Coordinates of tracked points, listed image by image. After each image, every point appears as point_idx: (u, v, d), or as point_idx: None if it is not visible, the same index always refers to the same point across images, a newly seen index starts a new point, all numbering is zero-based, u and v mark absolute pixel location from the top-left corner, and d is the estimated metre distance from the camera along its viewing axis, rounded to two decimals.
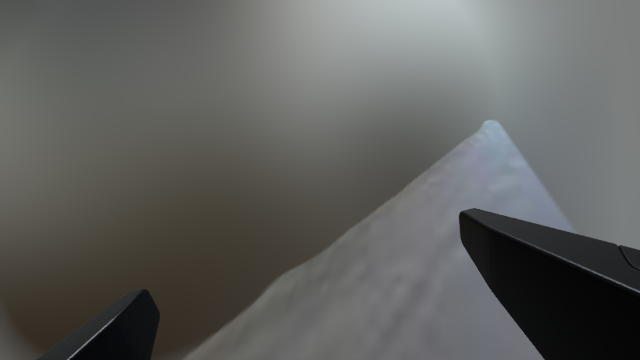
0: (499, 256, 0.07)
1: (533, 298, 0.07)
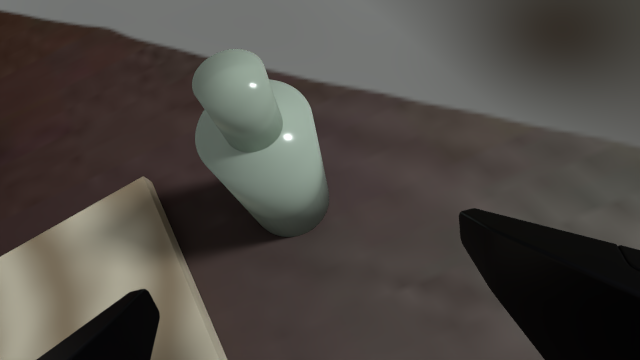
0: (499, 256, 0.07)
1: (533, 298, 0.07)
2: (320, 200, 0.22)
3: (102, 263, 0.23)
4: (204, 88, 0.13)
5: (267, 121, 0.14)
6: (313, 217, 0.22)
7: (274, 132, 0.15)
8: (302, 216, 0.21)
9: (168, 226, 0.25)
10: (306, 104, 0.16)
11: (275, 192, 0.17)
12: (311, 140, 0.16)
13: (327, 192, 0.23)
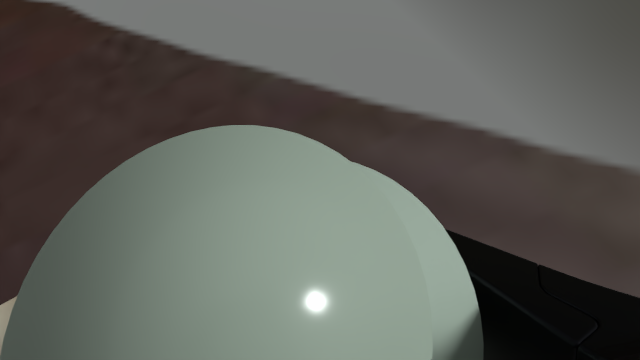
0: None
1: None
2: None
3: None
4: None
5: None
6: None
7: None
8: None
9: None
10: (451, 251, 0.06)
11: None
12: None
13: None
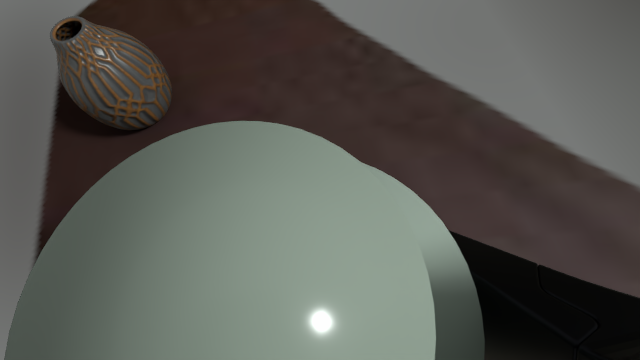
0: None
1: None
2: None
3: None
4: None
5: None
6: None
7: None
8: None
9: None
10: (452, 249, 0.06)
11: None
12: None
13: None
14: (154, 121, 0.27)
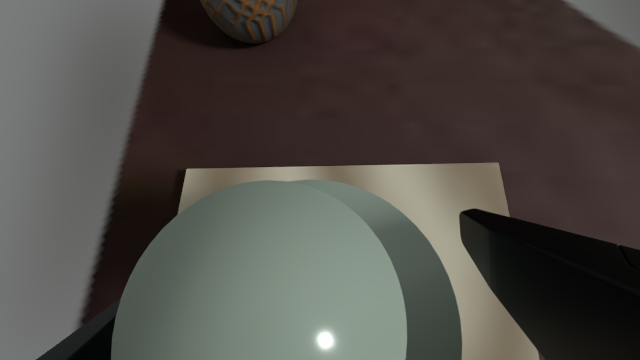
0: (499, 256, 0.07)
1: (533, 298, 0.07)
2: None
3: None
4: None
5: None
6: None
7: None
8: None
9: None
10: (436, 264, 0.07)
11: None
12: None
13: None
14: (272, 35, 0.23)
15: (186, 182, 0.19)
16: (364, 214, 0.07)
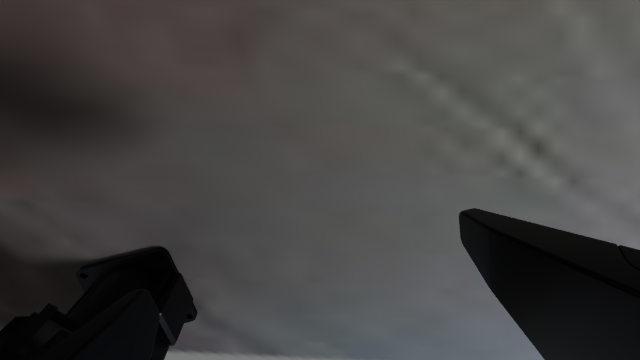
0: (499, 256, 0.07)
1: (533, 298, 0.07)
2: None
3: None
4: None
5: None
6: None
7: None
8: None
9: None
10: None
11: None
12: None
13: None
14: None
15: None
16: None
